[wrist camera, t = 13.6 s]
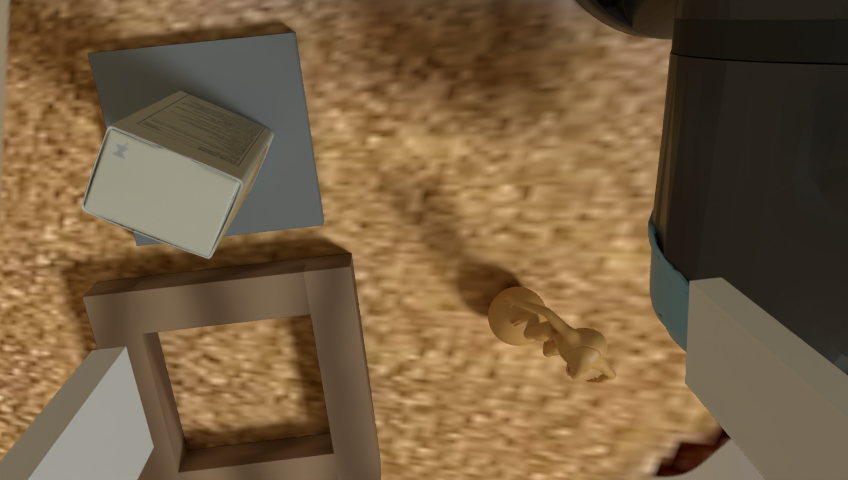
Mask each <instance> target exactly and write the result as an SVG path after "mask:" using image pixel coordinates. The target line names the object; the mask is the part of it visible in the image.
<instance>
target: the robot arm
mask: <svg viewBox="0 0 848 480" xmlns="http://www.w3.org/2000/svg"><path fill="white" fill-rule="evenodd" d="M577 1H578V2H579V3H580V4H581V5H582V6H583V7H584V8H585V9H586V10H587V11H588V12H589V13H590V14H591V15H593V16H594V17H595V18H597V19H598V20H600V21H601V22H603V23H604V24H606V25H608V26H610V27H612V28H614V29H616V30H618V31H621V32H624V33H627V34H631V35H634V36H640V37H647V38H657V39H672V50H671V52H670V58H669V69H668V79H667V89H666V99H665V110H664V120H663V130H662V140H661V148H660V157H659V165H658V174H657V183H656V191H655V200H654V209H653V211H652V213H651V216H650V220H649V222H648V237H649V242H650V245H651V267H650V297H651V301H652V305H653V308H654V311H655V313H656V315H657V317H658V318H659V319H660V321H661V322H662V323H663V325H664V326H666V329H667V330H668V332H669V335H670V336H671V337H672V339H673V340H674V341H675V342H676V343H677V344H678V345H679V346H680V347H681V348H682V349H683V350H684V351H685V352H687V353H686V376H685V383H686V384H687V385H688V387H689V388H690V389H691V390H692V391H693V393H694V394H695V395H696V396H697V398H698V399H699V400H700V401H701V402H702V404H703V405H704V406H705V407H706V408H707V410H708V411H709V412H710V413H711V414H712V416H713V417H714V418H715V419H716V421H717V422H718V423H719V424H720V425H721V427H722V428H723V429H724V430H725V431H726V433H727V434H728V435H729V436H730V437H731V439H732V440H733V441H734V442H735V443H736V445H737V446H738V447H739V448H740V450H741V451H742V452H743V453H744V454H745V456H746V457H747V458H748V459H749V460H750V461H751V463H752V464H753V465H754V466H755V467H756V469H757V470H758V471H759V473H760V474H761V475H762V476H763V477H764V479H765V480H848V0H577ZM153 448H154V446H153V443H152V439H151V435H150V432H149V428H148V424H147V421H146V417H145V414H144V410H143V406H142V403H141V399H140V395H139V392H138V388H137V385H136V381H135V377H134V374H133V370H132V366H131V363H130V359H129V356H128V352H127V348H126V347H117V348H108V349H100V350H92V351H91V352H90V354H89V355H88V356H87V357H86V358H85V360H84V361H83V362H82V363H81V364H80V366H79V367H78V368H77V369H76V370H75V372H74V373H73V374H72V375H71V377H70V378H69V379H68V380H67V381H66V383H65V384H64V385H63V386H62V387H61V389H60V390H59V391H58V392H57V393H56V395H55V396H54V397H53V398H52V399H51V401H50V402H49V403H48V404H47V406H46V407H45V408H44V409H43V410H42V412H41V413H40V414H39V415H38V416H37V418H36V419H35V420H34V421H33V422H32V424H31V425H30V426H29V427H28V429H27V430H26V431H25V432H24V433H23V435H22V436H21V437H20V438H19V439H18V441H17V442H16V443H15V444H14V445H13V447H12V448H11V449H10V450H9V452H8V453H7V454H6V455H5V456H4V458H3V459H2V460H1V461H0V480H137V479H138V478H139V476H140V474H141V472H142V470H143V468H144V466H145V464H146V462H147V460H148V458H149V456H150V454H151V452H152V450H153Z"/></svg>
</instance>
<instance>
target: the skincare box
mask: <svg viewBox="0 0 848 480" xmlns="http://www.w3.org/2000/svg"><path fill="white" fill-rule="evenodd" d="M273 137H274V133H273V131H271V130H270V129H267V128H265V127H263V126H261V125H259V124H257V123H255V122H253V121H251V120H248V119H246V118H244V117H242V116H240V115H237V114H235V113H233V112H231V111H228V110H226V109H224V108H221V107H219V106H217V105H214V104H212V103H210V102H207V101H205V100H202V99H200V98H198V97H195V96H193V95H190V94H187V93H185V92H183V91H178V92H176V93H174V94H172V95H170V96H168V97H166V98H164V99H162V100H160V101H158V102H156V103H154V104H152V105H150V106H148V107H146V108H144V109H142V110H140V111H138V112H136V113H134V114H132V115H130V116H128V117H126V118H124V119H122V120H120V121H118V122H116V123H114V124H112V125H110V126H108V128H107V131H106V134H105V137H104V139H103V142H102V144H101V147H100V150H99V153H98V155H97V158H96V161H95V164H94V167H93V170H92V173H91V176H90V179H89V182H88V185H87V188H86V192H85V196H84V199H83V203H82V210H83V211H85V212H87V213H90V214H92V215H94V216H96V217H98V218H101V219H103V220H105V221H107V222H110V223H112V224H115V225H117V226H120V227H122V228H125V229H127V230H130V231H132V232H135V233H138V234H140V235H143V236H146V237H148V238H151V239H153V240H156V241H159V242H162V243H164V244H167V245H170V246H172V247H175V248H178V249H181V250H184V251H187V252H189V253H192V254H195V255H198V256H201V257H204V258H207V259H210V258H211V257H212V255H213V253H214V252H215V250H216V248H217V246H218V245H219V243H220V241H221V239H222V238H223V236H224V234H225V233H226V231H227V229H228V228H229V226H230V224H231V222H232V221H233V219H234V217H235V216H236V214H237V212H238V210H239V209H240V207H241V205H242V204H243V202H244V200H245V199H246V197H247V195H248V193H249V192H250V190H251V188H252V186H253V184H254V181H255V179H256V177H257V175H258V172H259V170H260V168H261V166H262V163H263V161H264V159H265V157H266V154H267V152H268V149H269V147H270V144H271V142H272V139H273Z"/></svg>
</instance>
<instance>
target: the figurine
mask: <svg viewBox="0 0 848 480" xmlns="http://www.w3.org/2000/svg"><path fill="white" fill-rule="evenodd" d="M547 320H548V321H547ZM488 321H489V325H490V327H491V330H492V331H493V333H494V334H495V335H496V336H497V337H498V338H499V339H500V340H501V341H503V342H505V343H507V344H510V345H515V346H521V345H526V344H529V343H531V342H533V341H535V340H538V341H541V342H544V345H543V354H544V355H545V356H546V357H551V356H555V355H561V357H562V358H563V359H564V360H565V361H566V362H567V368H566V372H567V375H568V376H570V377H571V378H572V379H579V378H582V377H584V376H585V375H586V374H587V372H588V371H589V370H590V369H598V370H600V371H601V372H602V373H603V374H602V375H600V376H599V377H598V378H594V379H590V380H586V381H587V382H591V383H604V382H606V381H607V380H610V379H614V378H615V377H616V373H615V371H614V370H613V368H612V367H611V366H610V365H609V364H608V363H607V360H606V358H605V354H606V353H607V350H608V346H607V342H606V339H605V338H604V336H603V335H602V334H601V333H599V332H598V331H596V330H594V329H590V328H578V329H574V328H572V327H570V326H569V325H567V324H566V323H565V322H564V321H563V320H562V319H561V318H560V317H559V316H557V315H556V314H555V313H554V312H553V311H551V310H550V309H549V308H547V307H545V304H544V302H543V301H542V299H541V298H540V297H539V296H538V295H537V294H536V293H535V292H533V291H532V290H530V289H527V288H524V287H511V288H507V289H505V290H503V291H501V292H500V293H498V294H497V295H496V296H495V298H494V299H493V300H492V302H491V304H490V307H489V311H488Z"/></svg>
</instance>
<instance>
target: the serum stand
mask: <svg viewBox="0 0 848 480" xmlns="http://www.w3.org/2000/svg"><path fill="white" fill-rule="evenodd" d="M83 301H84V304H85V308H86V311H87V315H88V318H89V321H90V325H91V328H92V332H93V335H94V338H95V342H96V345H97V349H98V350H100V349H108V348H117V347H126V348H127V352H128V356H129V359H130V363H131V366H132V370H133V374H134V377H135V381H136V385H137V388H138V392H139V395H140V399H141V403H142V406H143V410H144V414H145V417H146V421H147V424H148V428H149V432H150V435H151V439H152V443H153V446H154V448H153V450H152V452H151V454H150V456H149V458H148V460H147V462H146V464H145V466H144V468H143V470H142V472H141V474H140V476H139V478H138V479H137V480H381V460H380V453H379V445H378V438H377V431H376V424H375V417H374V410H373V403H372V395H371V388H370V381H369V374H368V367H367V360H366V353H365V346H364V338H363V331H362V324H361V317H360V310H359V303H358V296H357V288H356V281H355V274H354V267H353V260H352V253H349V254H340V255H331V256H322V257H313V258H305V259H296V260H287V261H278V262H269V263H260V264H251V265H242V266H234V267H225V268H216V269H207V270H198V271H189V272H180V273H172V274H163V275H154V276H145V277H136V278H127V279H118V280H109V281H101V282H97V283H96V284H95V285H94V286H93V287H92V288H91V289H90V290H89V291H88V292H87V293H86V294H85V295H84V296H83ZM309 314H311V320H312V326H313V332H314V338H315V344H316V349H317V355H318V361H319V367H320V373H321V379H322V385H323V391H324V397H325V403H326V409H327V415H328V421H329V427H330V433H328V434H320V435H312V436H303V437H295V438H287V439H279V440H271V441H262V442H254V443H246V444H238V445H230V446H221V447H213V448H205V449H197V450H187V446H186V442H185V438H184V434H183V430H182V426H181V423H180V419H179V415H178V411H177V407H176V403H175V399H174V395H173V391H172V387H171V383H170V380H169V376H168V372H167V368H166V364H165V360H164V356H163V352H162V348H161V344H160V341H159V337H158V333H157V332H162V331H170V330H179V329H187V328H196V327H205V326H213V325H222V324H231V323H239V322H248V321H257V320H265V319H274V318H283V317H291V316H300V315H309Z"/></svg>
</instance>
